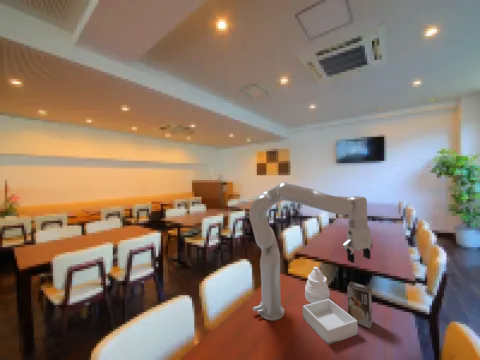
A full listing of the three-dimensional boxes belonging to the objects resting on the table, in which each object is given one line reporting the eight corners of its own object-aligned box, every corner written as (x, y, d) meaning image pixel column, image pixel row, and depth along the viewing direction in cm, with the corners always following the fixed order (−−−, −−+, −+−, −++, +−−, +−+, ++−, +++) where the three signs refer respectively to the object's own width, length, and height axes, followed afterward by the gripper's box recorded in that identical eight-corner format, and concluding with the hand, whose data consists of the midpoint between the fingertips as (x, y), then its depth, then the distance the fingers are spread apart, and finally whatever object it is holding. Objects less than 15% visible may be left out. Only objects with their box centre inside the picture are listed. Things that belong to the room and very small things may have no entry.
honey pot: (328, 308, 103) (327, 274, 103) (302, 301, 110) (301, 268, 110) (331, 295, 114) (330, 264, 114) (308, 289, 121) (307, 259, 121)
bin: (328, 345, 81) (328, 330, 81) (303, 318, 97) (302, 305, 97) (357, 334, 86) (357, 320, 86) (329, 310, 102) (328, 298, 102)
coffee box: (373, 321, 94) (372, 287, 93) (370, 329, 89) (369, 293, 89) (351, 312, 100) (350, 280, 100) (347, 319, 95) (346, 286, 95)
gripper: (350, 227, 87) (351, 266, 87) (379, 222, 92) (380, 259, 93) (336, 223, 94) (338, 259, 94) (364, 219, 100) (365, 253, 100)
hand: (359, 259), depth 94 cm, fingers open, 9 cm apart
